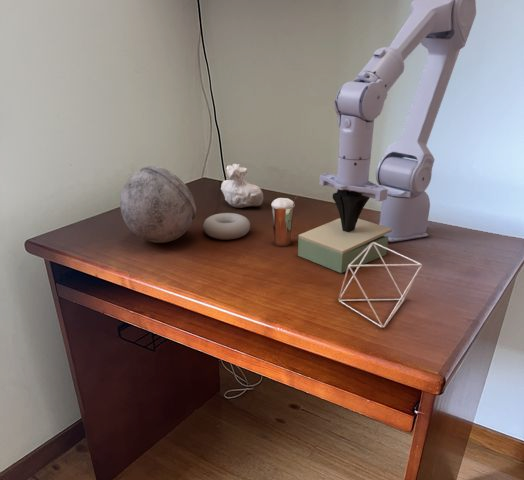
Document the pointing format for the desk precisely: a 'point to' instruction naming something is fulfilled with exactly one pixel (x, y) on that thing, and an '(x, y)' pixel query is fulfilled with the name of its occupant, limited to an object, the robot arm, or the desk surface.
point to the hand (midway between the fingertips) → (348, 230)
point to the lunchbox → (337, 259)
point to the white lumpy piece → (240, 188)
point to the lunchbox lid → (344, 235)
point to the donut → (226, 226)
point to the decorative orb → (157, 205)
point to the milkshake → (282, 220)
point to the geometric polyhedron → (391, 277)
